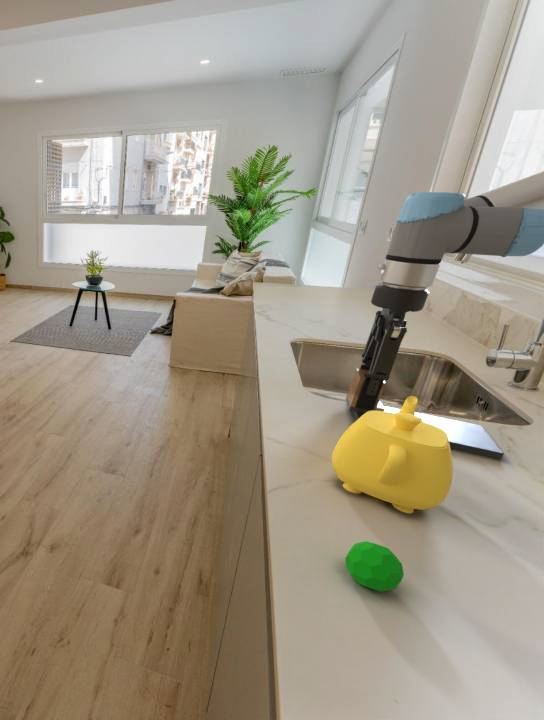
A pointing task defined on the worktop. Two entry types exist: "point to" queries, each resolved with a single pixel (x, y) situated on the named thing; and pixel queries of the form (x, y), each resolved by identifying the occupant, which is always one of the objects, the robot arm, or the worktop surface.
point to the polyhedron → (374, 566)
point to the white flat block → (380, 407)
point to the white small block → (428, 421)
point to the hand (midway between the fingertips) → (361, 401)
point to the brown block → (356, 389)
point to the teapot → (395, 459)
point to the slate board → (460, 435)
